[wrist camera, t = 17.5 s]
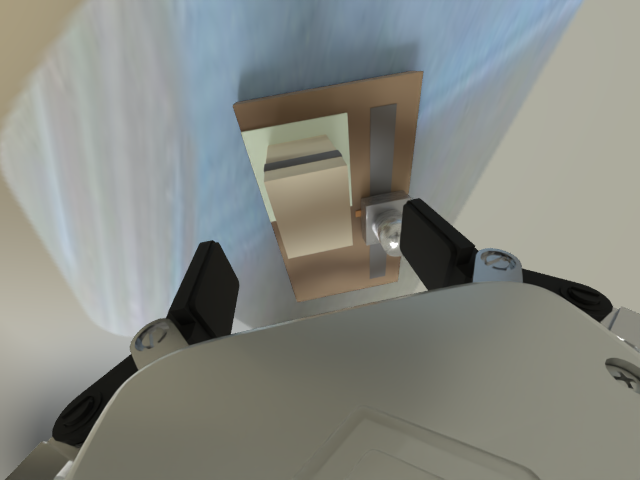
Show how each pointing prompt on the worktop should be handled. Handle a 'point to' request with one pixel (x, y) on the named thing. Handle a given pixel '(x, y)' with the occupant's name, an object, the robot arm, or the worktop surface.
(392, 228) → the silver slider knob
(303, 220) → the beige block
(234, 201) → the worktop surface
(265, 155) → the pad
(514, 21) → the worktop surface
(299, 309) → the worktop surface
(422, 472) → the robot arm
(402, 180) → the board
